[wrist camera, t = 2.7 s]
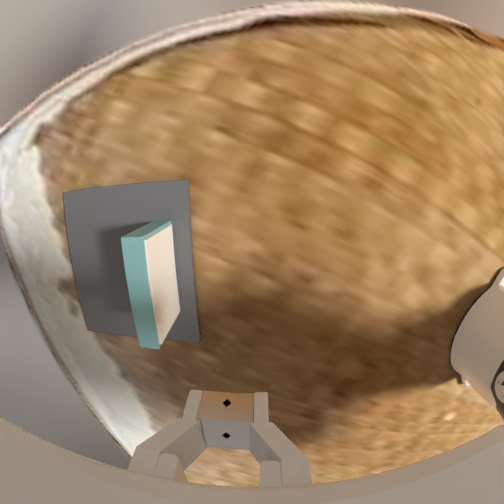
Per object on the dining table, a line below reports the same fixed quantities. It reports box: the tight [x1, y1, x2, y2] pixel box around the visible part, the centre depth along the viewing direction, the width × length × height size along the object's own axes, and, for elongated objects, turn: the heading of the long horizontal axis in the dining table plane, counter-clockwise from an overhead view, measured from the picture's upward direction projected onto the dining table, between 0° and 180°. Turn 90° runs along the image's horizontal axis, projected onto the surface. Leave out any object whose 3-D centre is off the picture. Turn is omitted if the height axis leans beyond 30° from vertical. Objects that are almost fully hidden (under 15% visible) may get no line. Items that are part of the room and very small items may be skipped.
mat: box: [63, 180, 201, 342], centre depth 26 cm, size 14×16×1 cm
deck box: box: [121, 220, 180, 349], centre depth 22 cm, size 2×9×6 cm, turn 1°
